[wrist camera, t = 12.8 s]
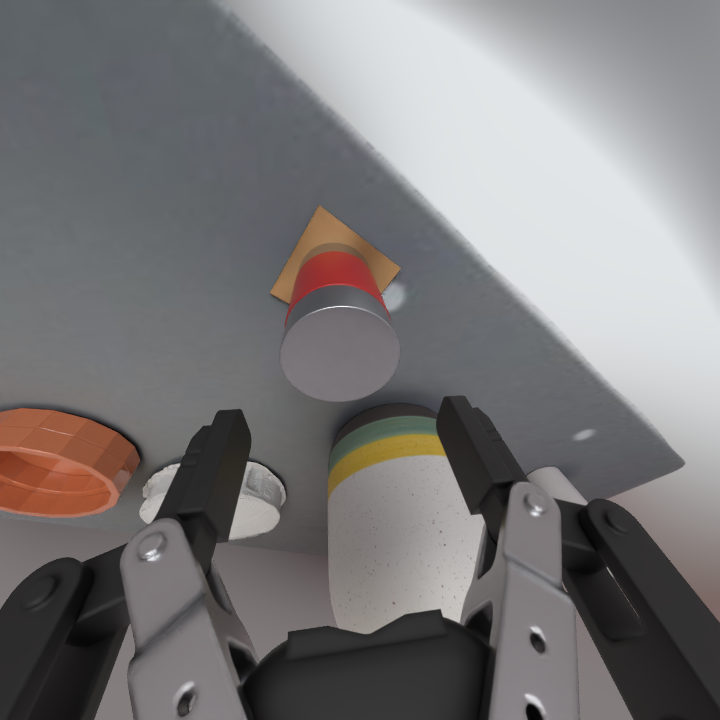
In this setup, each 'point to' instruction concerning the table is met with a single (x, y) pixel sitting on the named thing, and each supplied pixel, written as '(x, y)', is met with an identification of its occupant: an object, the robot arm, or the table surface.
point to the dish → (61, 464)
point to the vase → (396, 521)
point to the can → (337, 328)
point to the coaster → (332, 231)
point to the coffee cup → (556, 485)
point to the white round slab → (253, 505)
